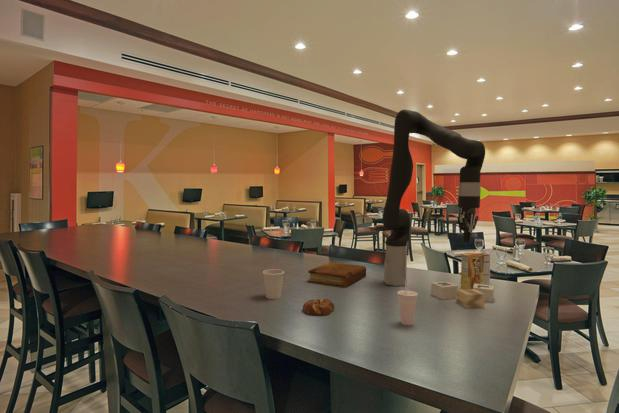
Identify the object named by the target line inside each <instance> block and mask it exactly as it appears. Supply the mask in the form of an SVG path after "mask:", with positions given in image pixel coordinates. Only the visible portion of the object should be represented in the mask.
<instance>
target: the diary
mask: <svg viewBox="0 0 619 413" xmlns="http://www.w3.org/2000/svg"><path fill="white" fill-rule="evenodd" d="M308 274H309V280H308V281H307V282H308V283H312V284H320V285H325V286H333V287H341V288H346V289H347V287H349V286H351V285H354V284H355V283H357V282H358V281H360V280H362V279H364V278H365V277H367V267H366V266H365V265H359V264H353V263H352V264H351V263H342V262H341V263H340V262H332V261H331V262H327V263H325V264H323V265H320V266H317V267H315V268H313V269H310V270H308Z"/></svg>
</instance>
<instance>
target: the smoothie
mask: <svg viewBox="0 0 619 413" xmlns="http://www.w3.org/2000/svg"><path fill="white" fill-rule="evenodd" d="M397 297H398V306H399V307H398V308H399V315H400V324H401V325H404V324H405V325H404V326H413V325H414V320H415V312H416V306H417V299H418V298H419V293H418V292H417V291H414V290H413V291H412V290H409V289H408V279H407V278H406V279H405V285H404V290H403V289H402V290H398V291H397Z"/></svg>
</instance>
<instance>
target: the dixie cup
mask: <svg viewBox="0 0 619 413" xmlns="http://www.w3.org/2000/svg"><path fill="white" fill-rule="evenodd" d="M262 274H263V275H262V276H263V283H264V289H265V297H266V299H268V300H278V299H280V298H281V297H282V292H283V291H282V289H283V282H284V275H285V271H284V270H282V269H279V268H278V269H276V268H275V269H274V268H271V269H265V270H263V271H262Z"/></svg>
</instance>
